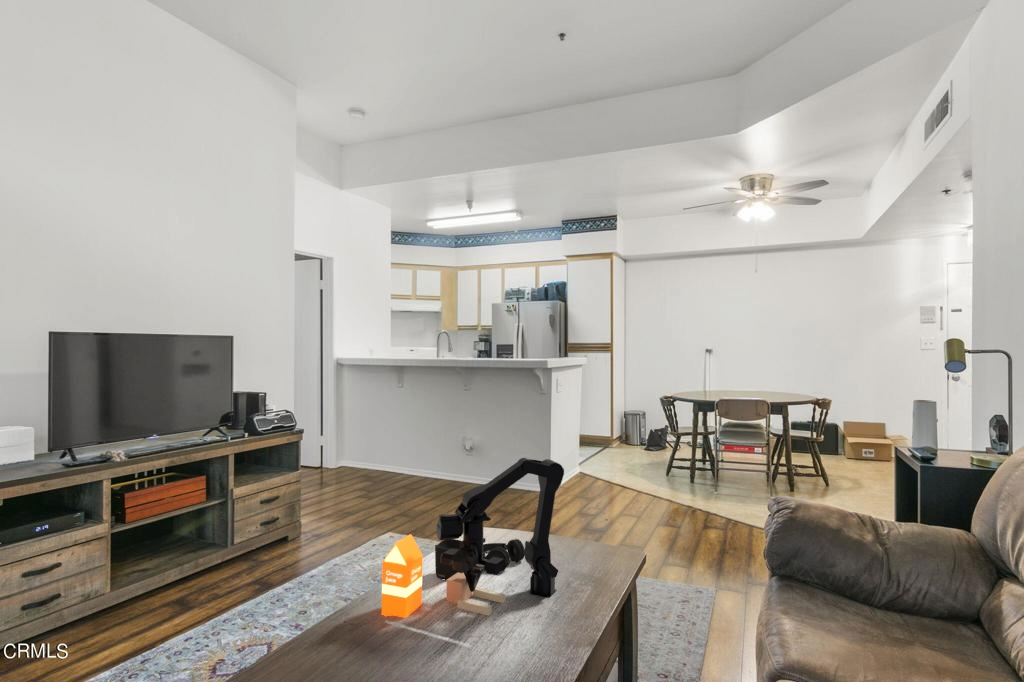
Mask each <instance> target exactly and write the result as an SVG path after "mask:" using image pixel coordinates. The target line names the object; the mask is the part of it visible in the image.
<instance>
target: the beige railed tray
mask: <svg viewBox="0 0 1024 682" xmlns="http://www.w3.org/2000/svg"><path fill="white" fill-rule="evenodd" d="M472 597H476V598H480V599H485V600H488V601H493V602H497V603H500V604H504V603H505V602H506V601H507V599H506V594H505V593H502V592H497V591H495V590H494V591H493V590H489V589H485V588H480V587H477V586H476V588H475V590H474V591H473V592H472ZM456 604H457V606H456V607H457V608H459V609H462V610H465V611H470V612H474V613H477V614H482V615H485V616H488V617H489V616H490V615H491V614H492V605H488V604H484V603H480V602H477V601H472V600H470V599H468V600H465V599H461V598H460V599H459V600H458V601H457V603H456Z"/></svg>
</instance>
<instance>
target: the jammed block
mask: <svg viewBox="0 0 1024 682" xmlns="http://www.w3.org/2000/svg"><path fill="white" fill-rule="evenodd" d="M472 597H473V592H471V591H470V589H469V586H468V583H467V580H466V577H465V575H464V573H456V574H455V575H453V576H452V577H450V578H448V579H447V580H446V597H445V598H446V601H447V602H451V603H453V604H457V601H458V600H459V599H460V598H461V599H465V600H470V598H472Z"/></svg>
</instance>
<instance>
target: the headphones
mask: <svg viewBox="0 0 1024 682" xmlns="http://www.w3.org/2000/svg"><path fill="white" fill-rule="evenodd" d="M524 550H525V545H524V544H523V542H522V541H521V540H520V539H518V538H515V539H511V540H509V541H508V543H504V542H491V543H490V542H489V543H483V552H484V553H486V552H488V553H486V554H487V555H485V557H483V559H486V560H489V559H491V558H492V557H497V558H502V559H504V560H505V562H506V569H507V568H508V567H509V565H510V562H511V561H512V562H514V563H519V562H520V561H522V560H524V559H525V555H524V554H523V552H524Z"/></svg>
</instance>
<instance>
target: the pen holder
mask: <svg viewBox="0 0 1024 682" xmlns="http://www.w3.org/2000/svg"><path fill="white" fill-rule="evenodd" d="M461 541H462V540H458V539H448V540H441V541H440V542H439V543H437V544H434V558H435V559H434V560H435V561H434V562H435V565H434V566H435V576H436V578H438V579H439V578H440V579H439V580H442V579H445V580H444V581H447V579H448V578H450V577H452V576H453V575H455V574H456V573H463V572H462V571H459V570H454V569H453V566H452V563H451V564H450V565H446V564H441V555H442V553H444V552H446V551H447V550H449V549H451V548H452V549H457V550H459V549H460V544H461ZM463 574H464V573H463Z"/></svg>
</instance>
